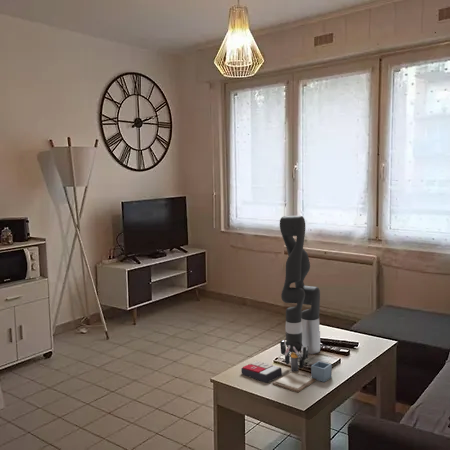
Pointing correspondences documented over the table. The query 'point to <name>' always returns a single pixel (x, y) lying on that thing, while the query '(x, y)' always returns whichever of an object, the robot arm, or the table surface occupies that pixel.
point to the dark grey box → (262, 371)
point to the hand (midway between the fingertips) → (294, 365)
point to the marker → (294, 362)
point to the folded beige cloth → (294, 381)
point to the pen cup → (321, 371)
